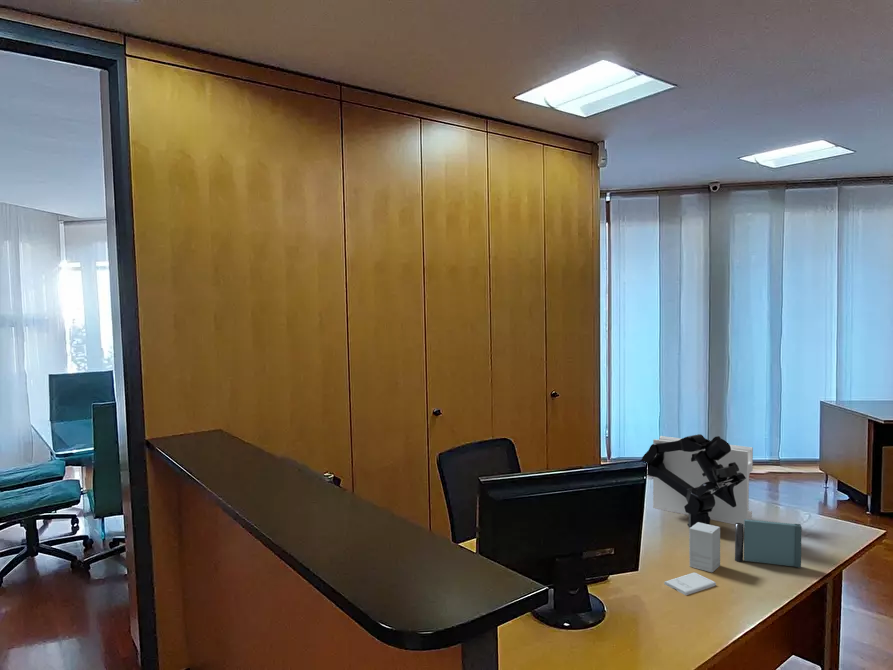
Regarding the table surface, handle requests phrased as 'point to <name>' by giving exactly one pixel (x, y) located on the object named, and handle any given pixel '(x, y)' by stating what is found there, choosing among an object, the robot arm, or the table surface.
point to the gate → (772, 542)
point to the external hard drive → (690, 583)
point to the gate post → (739, 542)
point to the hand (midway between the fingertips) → (734, 506)
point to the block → (693, 476)
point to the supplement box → (704, 546)
